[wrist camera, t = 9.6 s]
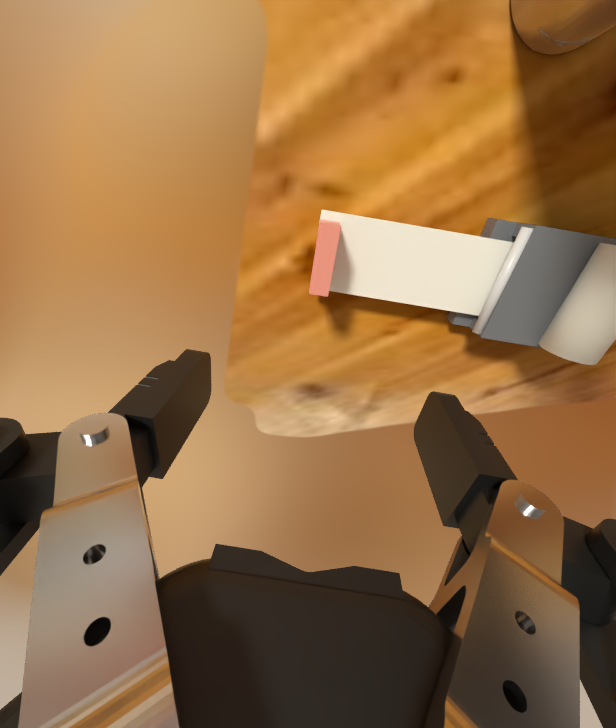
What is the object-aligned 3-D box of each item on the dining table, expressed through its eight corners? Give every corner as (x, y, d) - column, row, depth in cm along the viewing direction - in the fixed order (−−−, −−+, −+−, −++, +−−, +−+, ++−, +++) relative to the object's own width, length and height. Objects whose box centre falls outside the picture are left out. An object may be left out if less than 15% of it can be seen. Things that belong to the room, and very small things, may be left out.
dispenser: (487, 218, 30) (543, 225, 22) (620, 240, 30) (722, 255, 22) (446, 317, 35) (479, 351, 27) (558, 336, 35) (622, 375, 28)
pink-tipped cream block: (321, 209, 28) (320, 211, 23) (521, 243, 28) (560, 252, 24) (310, 286, 32) (306, 301, 27) (486, 315, 32) (513, 336, 27)
